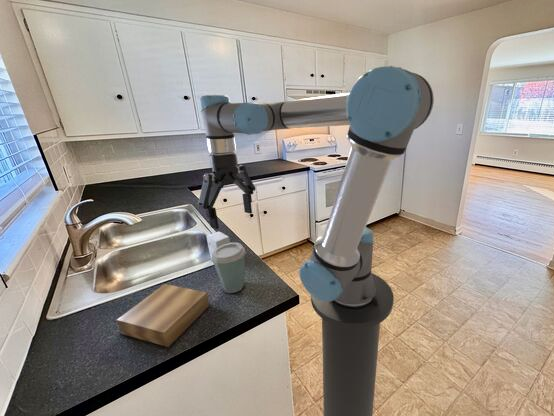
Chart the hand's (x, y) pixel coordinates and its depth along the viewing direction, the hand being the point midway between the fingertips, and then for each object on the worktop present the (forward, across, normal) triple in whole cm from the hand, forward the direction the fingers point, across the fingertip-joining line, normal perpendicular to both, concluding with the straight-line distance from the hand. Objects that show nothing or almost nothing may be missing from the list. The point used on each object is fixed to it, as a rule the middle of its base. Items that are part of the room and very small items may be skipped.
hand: (232, 219), depth 85 cm
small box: (+24, -7, -19) cm, 31 cm away
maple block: (+24, +23, -6) cm, 34 cm away
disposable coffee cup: (+24, +3, -1) cm, 25 cm away
